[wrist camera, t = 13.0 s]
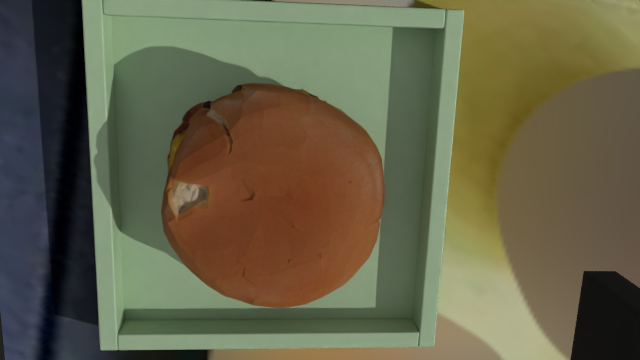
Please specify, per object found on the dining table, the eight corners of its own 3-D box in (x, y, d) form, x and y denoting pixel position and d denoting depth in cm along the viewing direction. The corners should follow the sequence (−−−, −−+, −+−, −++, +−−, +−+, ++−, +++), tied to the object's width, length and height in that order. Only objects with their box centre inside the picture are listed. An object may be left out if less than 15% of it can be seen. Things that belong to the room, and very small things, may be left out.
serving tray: (450, 11, 27) (464, 9, 25) (424, 327, 30) (434, 347, 28) (95, -4, 25) (80, -8, 23) (110, 329, 29) (99, 350, 27)
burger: (386, 265, 29) (408, 307, 24) (196, 299, 28) (182, 348, 24) (357, 60, 26) (375, 64, 22) (149, 95, 26) (124, 106, 22)
